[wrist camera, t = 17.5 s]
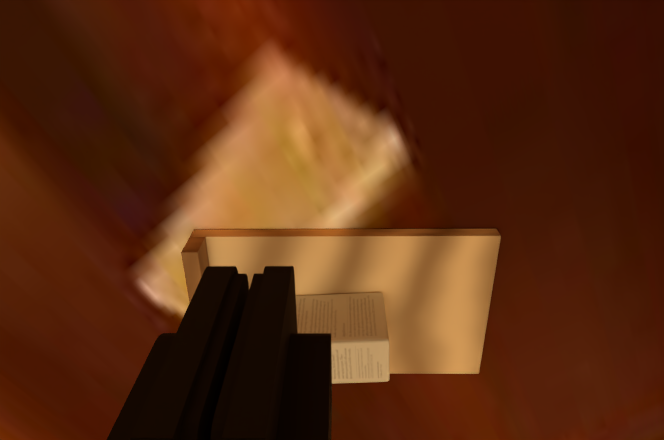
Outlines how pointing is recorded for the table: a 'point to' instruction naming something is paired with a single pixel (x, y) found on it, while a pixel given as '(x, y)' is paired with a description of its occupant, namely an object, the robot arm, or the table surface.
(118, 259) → the table surface
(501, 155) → the table surface
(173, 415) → the robot arm
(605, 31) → the table surface
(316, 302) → the skincare box
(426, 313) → the board
